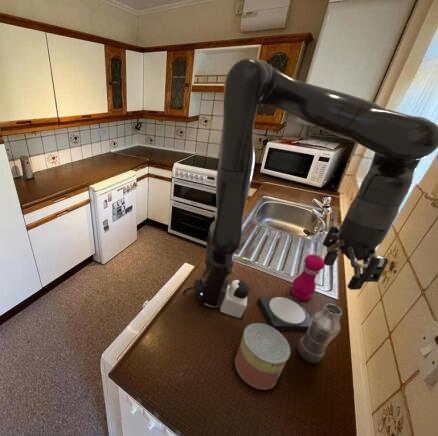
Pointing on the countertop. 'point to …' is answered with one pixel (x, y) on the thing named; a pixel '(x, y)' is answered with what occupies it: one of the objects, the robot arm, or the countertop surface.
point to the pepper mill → (307, 277)
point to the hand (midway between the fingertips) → (339, 275)
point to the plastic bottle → (320, 333)
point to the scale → (285, 313)
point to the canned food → (261, 355)
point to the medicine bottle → (235, 299)
